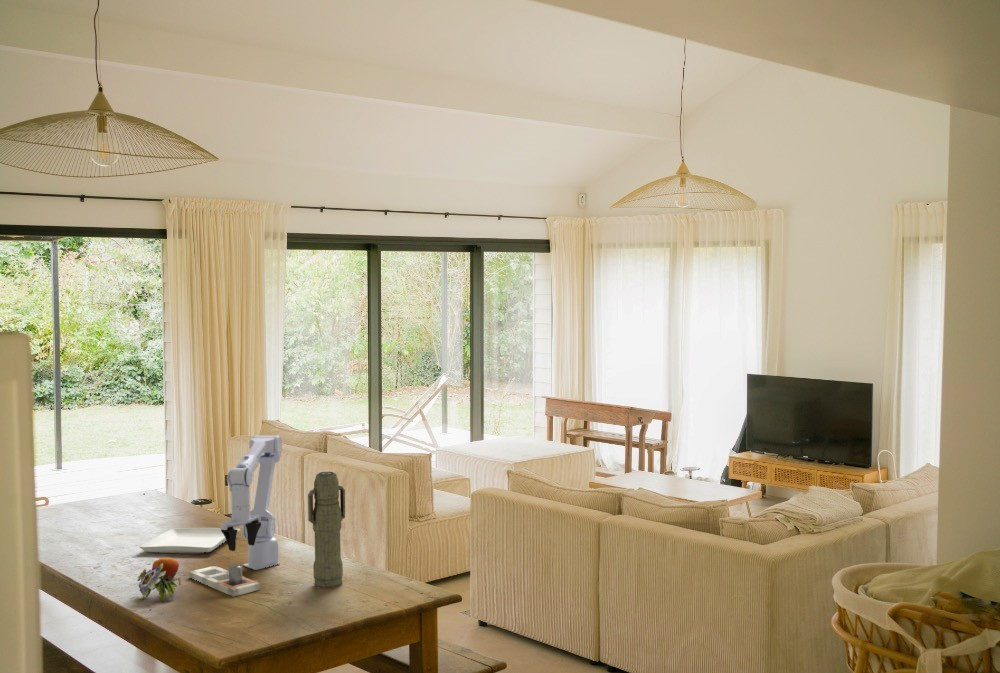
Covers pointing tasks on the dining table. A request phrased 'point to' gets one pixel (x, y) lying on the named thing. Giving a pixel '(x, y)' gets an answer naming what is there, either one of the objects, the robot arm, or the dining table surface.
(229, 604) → the dining table surface
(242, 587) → the hole rail
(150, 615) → the dining table surface
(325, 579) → the thermos
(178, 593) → the dining table surface
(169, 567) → the fruit
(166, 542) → the square plate
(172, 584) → the passion flower
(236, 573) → the metal peg
